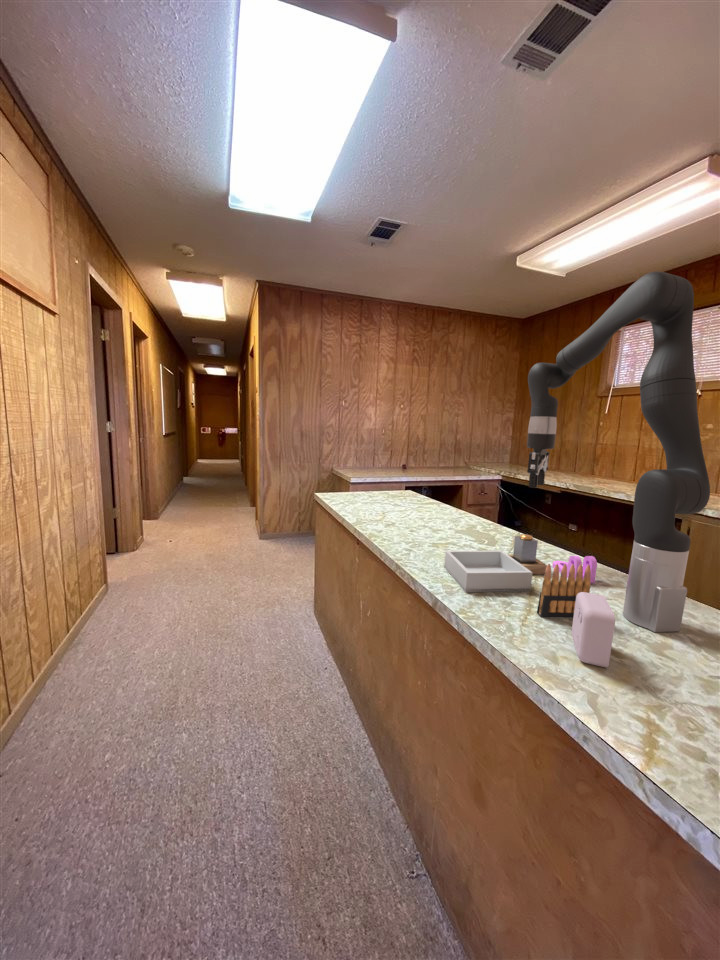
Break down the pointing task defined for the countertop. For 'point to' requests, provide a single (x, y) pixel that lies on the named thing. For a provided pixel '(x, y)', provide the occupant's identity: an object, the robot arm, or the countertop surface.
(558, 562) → the pink humped piece
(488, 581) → the bin
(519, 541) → the grey upright block
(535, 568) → the socket block
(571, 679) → the countertop surface
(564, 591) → the ammunition clip
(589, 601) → the electronic device
